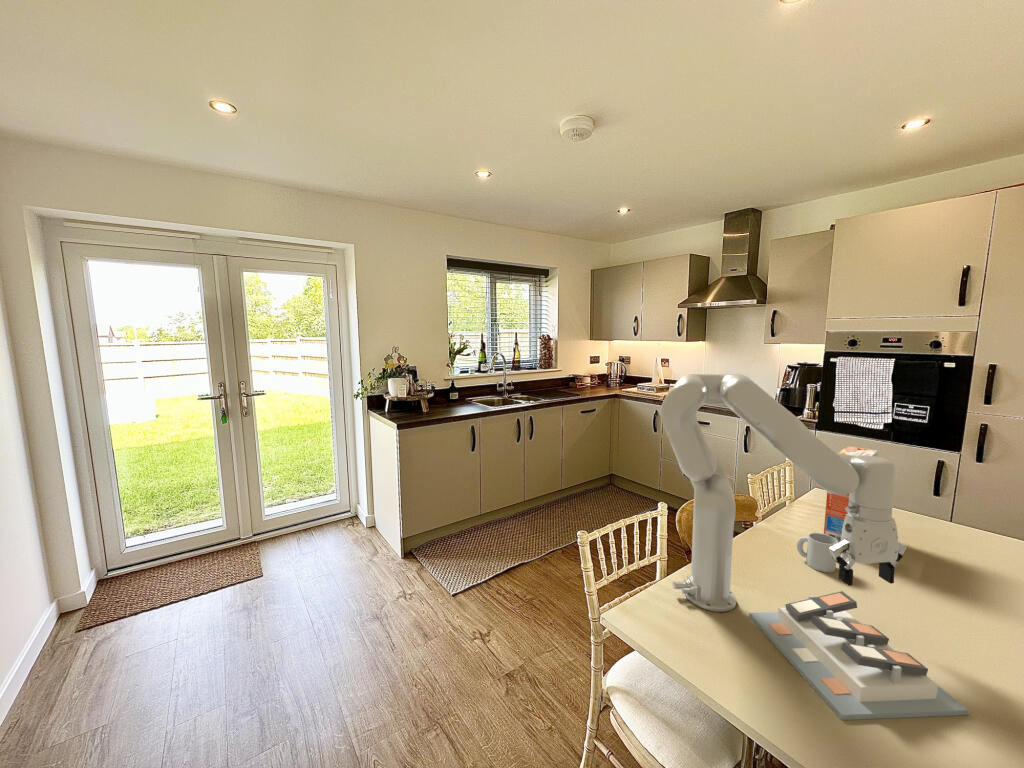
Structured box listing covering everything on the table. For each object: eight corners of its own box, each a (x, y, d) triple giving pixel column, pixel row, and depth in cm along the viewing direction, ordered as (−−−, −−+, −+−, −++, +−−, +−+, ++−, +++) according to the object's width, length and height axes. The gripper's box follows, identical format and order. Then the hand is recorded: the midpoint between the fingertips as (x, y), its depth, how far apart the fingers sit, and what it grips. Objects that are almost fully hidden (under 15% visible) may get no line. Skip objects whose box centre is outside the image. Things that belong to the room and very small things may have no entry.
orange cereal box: (853, 556, 130) (862, 464, 127) (822, 546, 137) (829, 458, 133) (869, 533, 145) (877, 450, 142) (841, 525, 151) (847, 446, 148)
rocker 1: (798, 621, 95) (797, 614, 95) (786, 609, 99) (785, 603, 99) (857, 607, 95) (856, 601, 95) (842, 596, 99) (842, 590, 99)
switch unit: (841, 719, 76) (844, 684, 75) (749, 616, 103) (750, 589, 103) (968, 714, 76) (972, 679, 75) (842, 613, 104) (845, 586, 103)
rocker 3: (858, 664, 79) (860, 657, 79) (840, 649, 83) (843, 641, 83) (925, 676, 80) (928, 668, 79) (905, 659, 84) (908, 652, 83)
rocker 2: (825, 634, 87) (827, 627, 87) (810, 621, 91) (812, 614, 91) (887, 645, 88) (889, 638, 87) (870, 631, 92) (872, 625, 91)
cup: (833, 576, 120) (835, 547, 119) (792, 562, 127) (794, 535, 126) (838, 566, 125) (840, 538, 124) (798, 554, 132) (800, 527, 131)
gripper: (846, 519, 91) (842, 593, 92) (923, 515, 91) (917, 588, 93) (820, 506, 98) (817, 574, 100) (890, 502, 99) (886, 570, 100)
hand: (865, 581), depth 96 cm, fingers open, 9 cm apart
